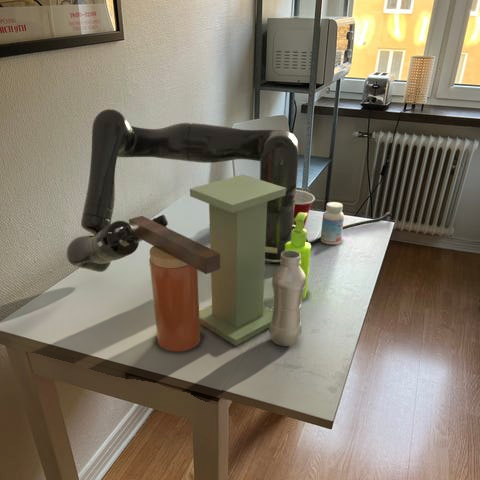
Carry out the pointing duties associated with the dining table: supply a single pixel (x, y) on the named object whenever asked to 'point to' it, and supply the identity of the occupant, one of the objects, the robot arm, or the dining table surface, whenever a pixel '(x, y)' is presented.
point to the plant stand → (238, 255)
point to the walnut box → (176, 244)
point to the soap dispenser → (300, 246)
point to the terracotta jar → (175, 301)
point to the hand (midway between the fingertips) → (148, 225)
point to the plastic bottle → (287, 299)
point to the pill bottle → (332, 223)
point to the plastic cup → (302, 204)
